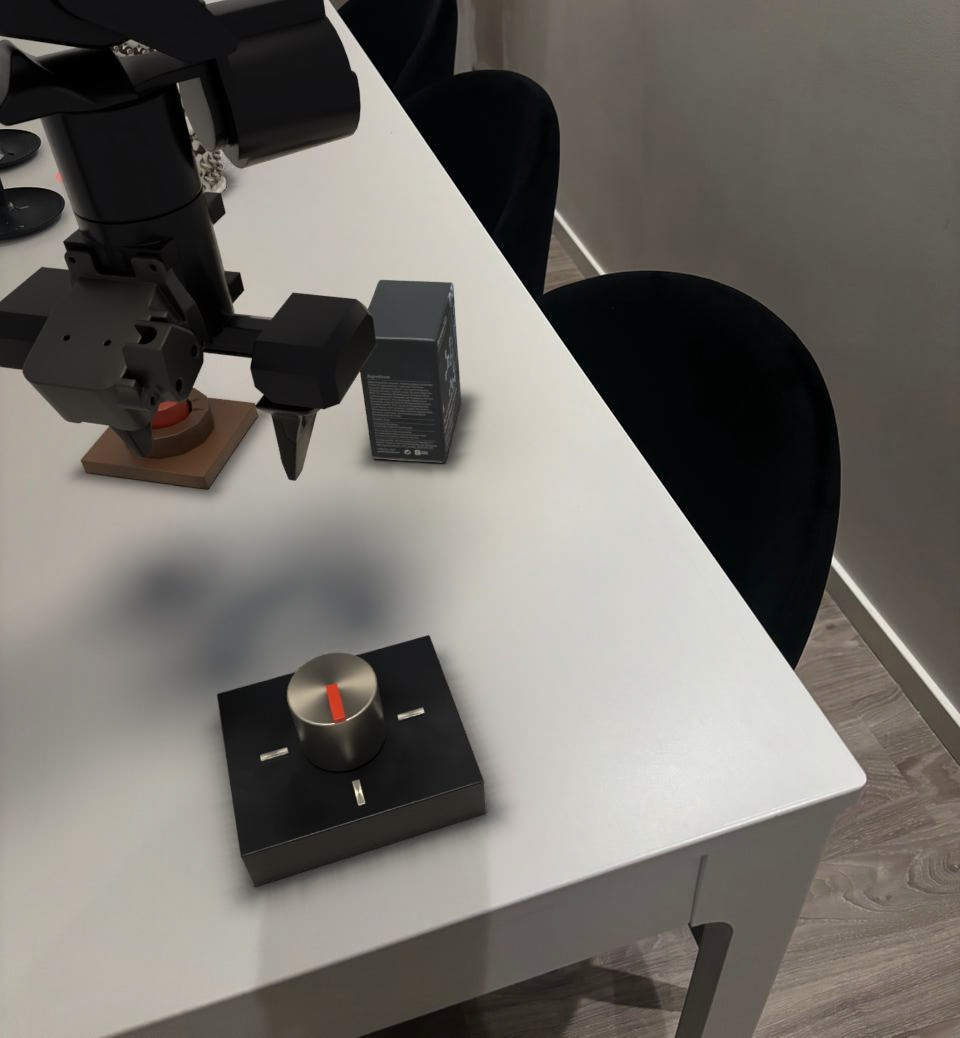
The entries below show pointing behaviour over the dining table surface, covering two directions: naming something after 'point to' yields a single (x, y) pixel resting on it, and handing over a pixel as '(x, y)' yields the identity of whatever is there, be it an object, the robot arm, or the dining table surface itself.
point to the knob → (337, 711)
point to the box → (412, 371)
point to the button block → (179, 445)
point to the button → (170, 414)
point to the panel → (353, 793)
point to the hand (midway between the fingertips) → (219, 464)
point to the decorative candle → (205, 159)
